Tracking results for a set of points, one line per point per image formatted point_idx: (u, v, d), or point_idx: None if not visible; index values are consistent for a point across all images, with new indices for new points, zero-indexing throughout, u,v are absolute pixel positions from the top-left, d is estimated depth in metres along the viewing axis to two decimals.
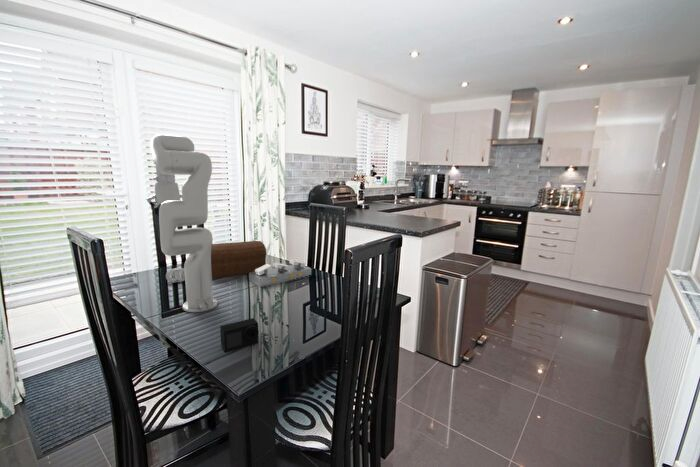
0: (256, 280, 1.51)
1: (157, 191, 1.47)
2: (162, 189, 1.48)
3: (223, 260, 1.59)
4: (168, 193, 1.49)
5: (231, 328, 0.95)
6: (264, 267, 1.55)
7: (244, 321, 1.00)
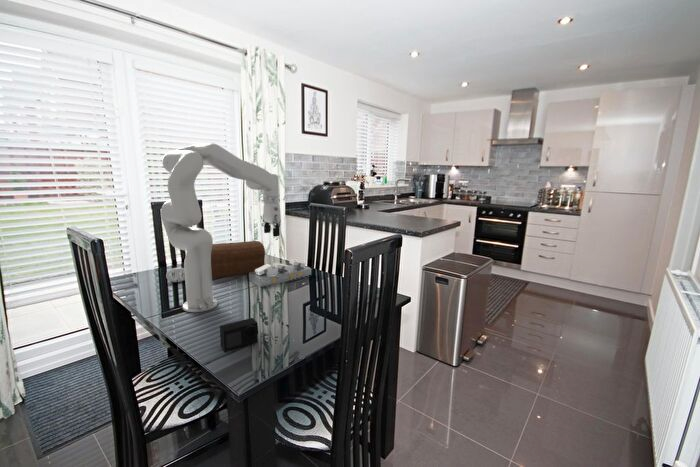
0: (256, 280, 1.51)
1: (279, 211, 1.53)
2: None
3: (222, 260, 1.58)
4: None
5: (231, 328, 0.95)
6: (264, 267, 1.55)
7: (243, 321, 1.00)
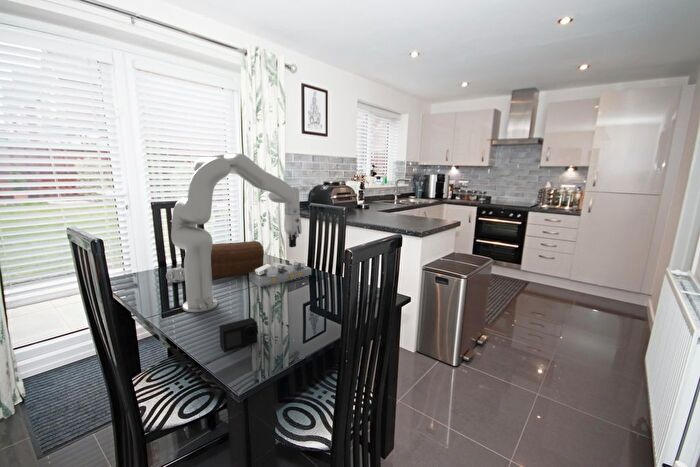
0: (256, 280, 1.51)
1: (300, 222, 1.60)
2: None
3: (220, 260, 1.58)
4: None
5: (230, 328, 0.95)
6: (264, 267, 1.55)
7: (243, 321, 1.00)
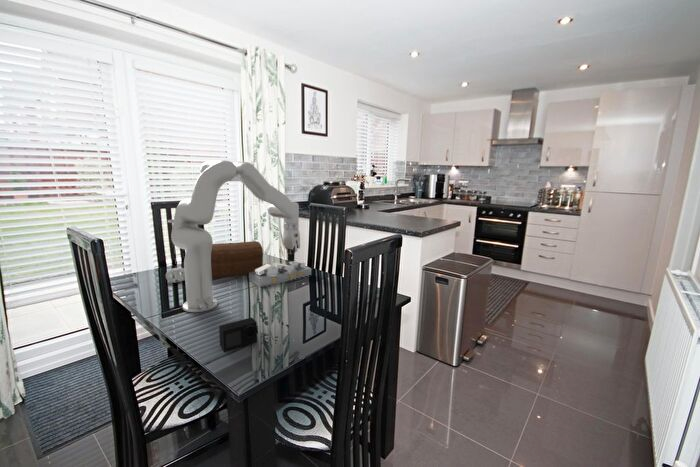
0: (256, 280, 1.51)
1: (299, 237, 1.61)
2: None
3: (219, 261, 1.58)
4: None
5: (230, 328, 0.95)
6: (264, 267, 1.55)
7: (243, 320, 1.00)
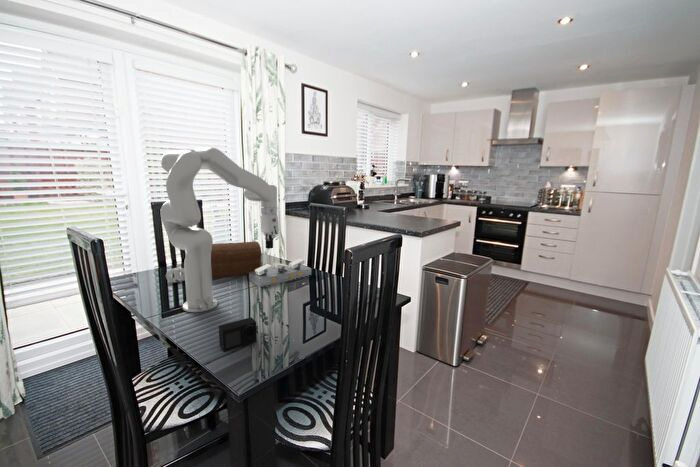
0: (256, 280, 1.51)
1: None
2: None
3: (217, 261, 1.57)
4: None
5: (230, 327, 0.95)
6: (264, 267, 1.55)
7: (242, 320, 1.00)
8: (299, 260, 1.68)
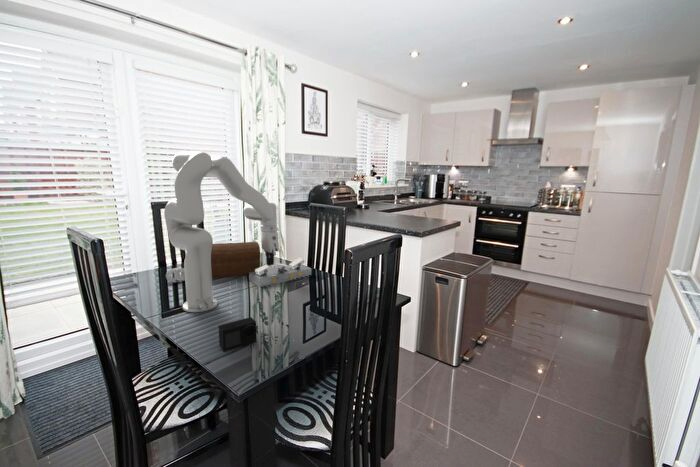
0: (256, 280, 1.51)
1: None
2: None
3: (216, 261, 1.57)
4: None
5: (230, 327, 0.95)
6: (264, 267, 1.55)
7: (242, 320, 1.00)
8: (299, 260, 1.68)
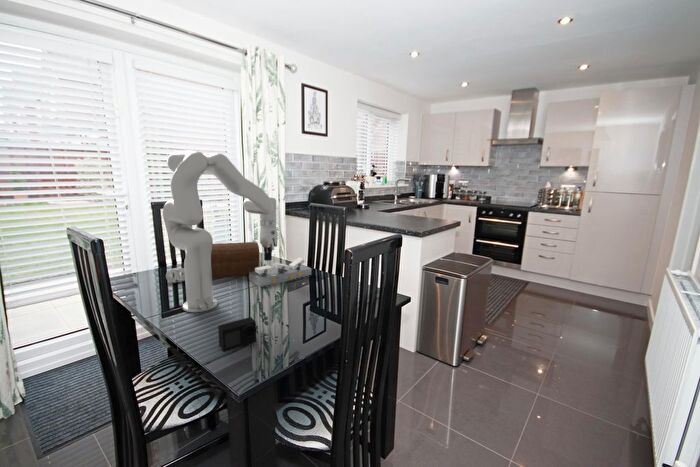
0: (256, 280, 1.51)
1: (276, 235, 1.52)
2: None
3: (215, 261, 1.57)
4: None
5: (229, 327, 0.96)
6: (265, 267, 1.55)
7: (242, 320, 1.00)
8: (298, 260, 1.68)
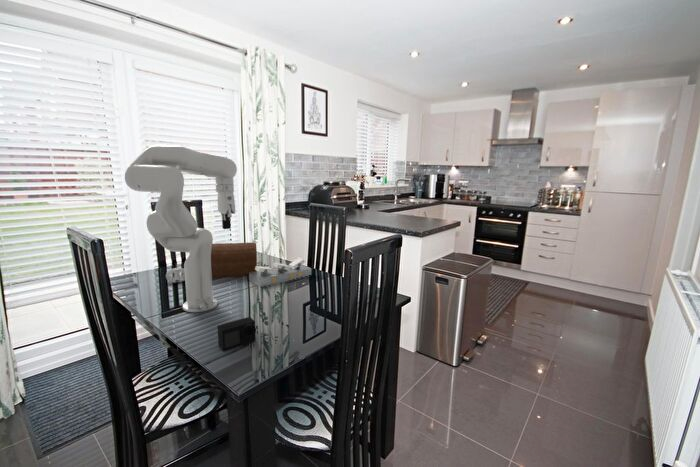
0: (256, 280, 1.51)
1: (234, 201, 1.42)
2: None
3: (212, 261, 1.57)
4: None
5: (229, 327, 0.96)
6: (265, 267, 1.55)
7: (241, 320, 1.00)
8: (299, 260, 1.68)
